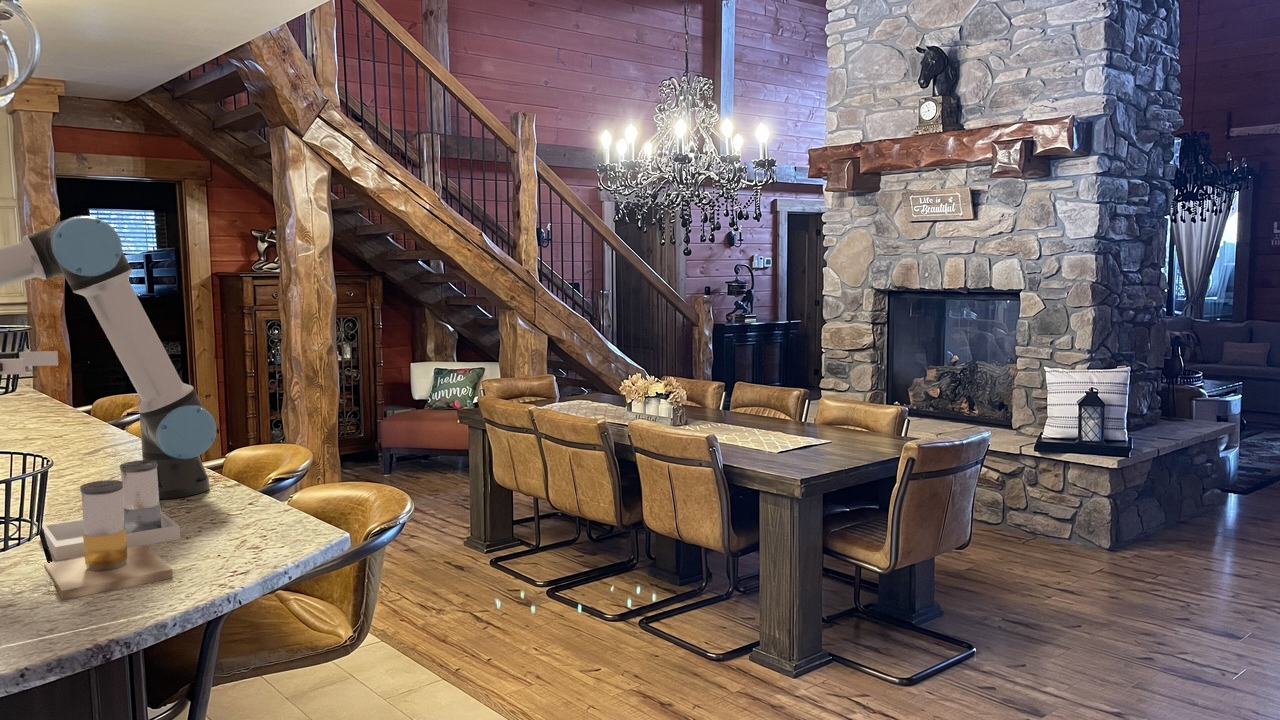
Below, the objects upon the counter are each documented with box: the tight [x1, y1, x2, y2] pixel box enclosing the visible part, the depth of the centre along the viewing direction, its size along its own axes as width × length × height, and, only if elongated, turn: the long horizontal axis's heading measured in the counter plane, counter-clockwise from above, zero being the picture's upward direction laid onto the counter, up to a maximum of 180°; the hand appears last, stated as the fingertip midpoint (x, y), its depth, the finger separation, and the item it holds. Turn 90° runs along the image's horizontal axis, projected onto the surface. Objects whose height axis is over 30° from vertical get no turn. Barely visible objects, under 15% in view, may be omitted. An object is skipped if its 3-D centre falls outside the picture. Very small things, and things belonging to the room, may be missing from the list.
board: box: [43, 545, 174, 601], centre depth 163 cm, size 16×18×2 cm
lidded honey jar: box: [79, 479, 128, 572], centre depth 162 cm, size 6×6×14 cm
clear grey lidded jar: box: [119, 459, 162, 534], centre depth 180 cm, size 6×6×14 cm
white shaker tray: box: [42, 510, 181, 561], centre depth 180 cm, size 20×18×4 cm
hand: (41, 362), depth 180 cm, fingers open, 13 cm apart
